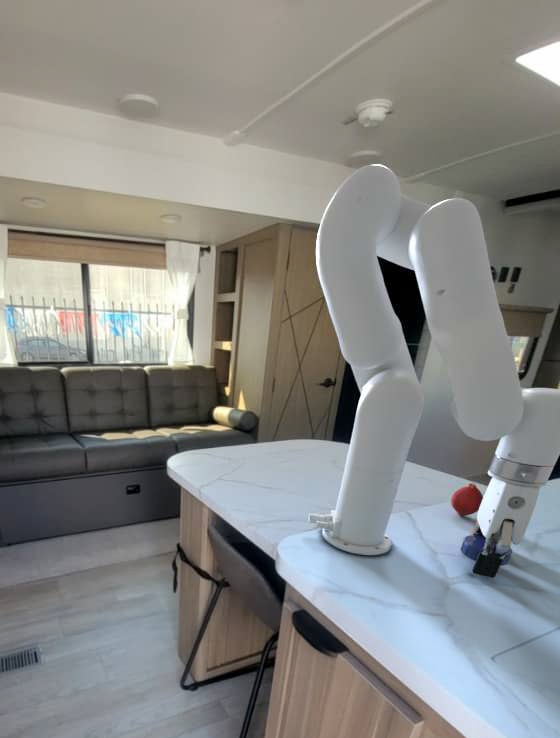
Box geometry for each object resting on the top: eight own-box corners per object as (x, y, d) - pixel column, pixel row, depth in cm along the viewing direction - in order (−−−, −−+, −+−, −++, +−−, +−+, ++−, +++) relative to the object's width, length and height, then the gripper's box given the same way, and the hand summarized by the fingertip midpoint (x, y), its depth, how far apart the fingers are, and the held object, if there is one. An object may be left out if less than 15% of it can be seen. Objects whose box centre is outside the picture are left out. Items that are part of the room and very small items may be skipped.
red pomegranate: (453, 508, 95) (465, 476, 92) (481, 517, 91) (494, 484, 87) (441, 513, 92) (453, 481, 89) (469, 524, 88) (482, 490, 84)
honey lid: (479, 543, 75) (483, 533, 74) (517, 563, 69) (522, 552, 68) (451, 548, 73) (455, 537, 72) (487, 568, 67) (492, 557, 66)
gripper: (567, 493, 56) (516, 597, 64) (534, 458, 70) (495, 547, 78) (501, 482, 59) (460, 583, 67) (482, 451, 73) (450, 538, 81)
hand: (479, 563), depth 72 cm, fingers closed on honey lid, 6 cm apart
